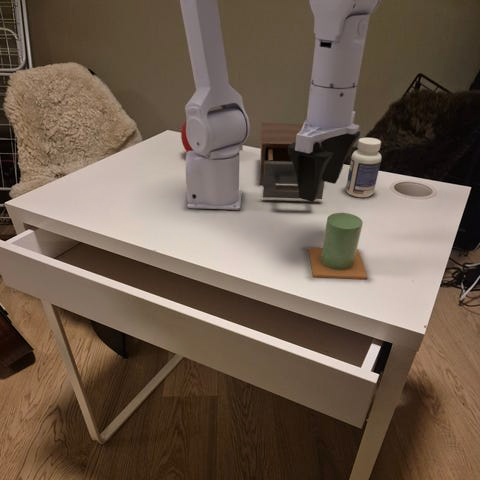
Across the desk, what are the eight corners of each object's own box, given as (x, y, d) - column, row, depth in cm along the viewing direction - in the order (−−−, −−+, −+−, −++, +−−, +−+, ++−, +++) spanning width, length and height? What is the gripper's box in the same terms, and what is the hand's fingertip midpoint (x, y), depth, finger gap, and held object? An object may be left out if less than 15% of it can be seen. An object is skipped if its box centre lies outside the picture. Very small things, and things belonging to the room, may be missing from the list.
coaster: (312, 277, 58) (313, 274, 58) (308, 249, 64) (308, 247, 64) (367, 279, 58) (367, 276, 58) (357, 251, 64) (358, 249, 64)
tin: (322, 269, 59) (329, 228, 55) (318, 252, 63) (325, 212, 59) (356, 270, 59) (365, 229, 55) (350, 253, 63) (359, 213, 59)
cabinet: (319, 186, 83) (326, 144, 78) (259, 184, 83) (261, 142, 78) (313, 162, 93) (318, 124, 88) (260, 161, 94) (262, 122, 89)
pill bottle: (378, 193, 81) (391, 141, 75) (361, 200, 78) (373, 147, 72) (357, 184, 84) (367, 134, 78) (339, 191, 82) (348, 139, 75)
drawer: (324, 209, 73) (330, 174, 69) (262, 207, 73) (264, 171, 69) (315, 174, 86) (319, 142, 82) (262, 172, 86) (264, 140, 82)
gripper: (341, 99, 45) (323, 215, 54) (384, 78, 54) (362, 180, 63) (284, 90, 48) (275, 202, 56) (333, 72, 57) (320, 170, 66)
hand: (318, 190), depth 60 cm, fingers open, 7 cm apart
